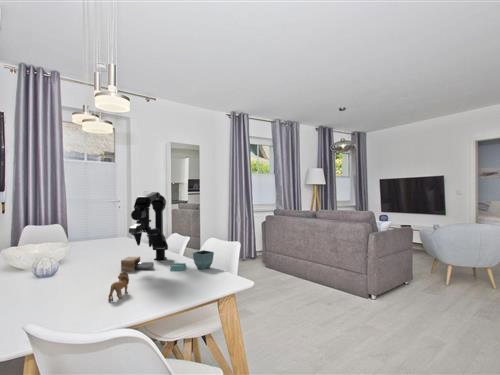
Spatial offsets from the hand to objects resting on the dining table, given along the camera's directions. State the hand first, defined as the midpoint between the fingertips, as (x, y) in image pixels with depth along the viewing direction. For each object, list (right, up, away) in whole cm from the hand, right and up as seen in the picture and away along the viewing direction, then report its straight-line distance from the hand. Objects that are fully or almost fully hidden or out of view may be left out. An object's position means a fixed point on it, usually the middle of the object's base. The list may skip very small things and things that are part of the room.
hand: (144, 246), depth 161 cm
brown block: (-9, -14, +3) cm, 17 cm away
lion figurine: (+4, -13, -39) cm, 42 cm away
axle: (-3, -14, +3) cm, 15 cm away
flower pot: (+33, -13, +3) cm, 36 cm away
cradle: (+19, -13, +2) cm, 23 cm away
